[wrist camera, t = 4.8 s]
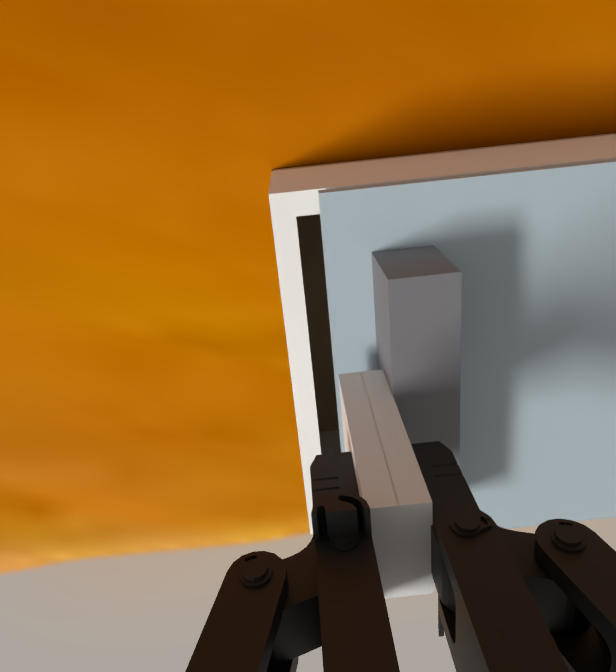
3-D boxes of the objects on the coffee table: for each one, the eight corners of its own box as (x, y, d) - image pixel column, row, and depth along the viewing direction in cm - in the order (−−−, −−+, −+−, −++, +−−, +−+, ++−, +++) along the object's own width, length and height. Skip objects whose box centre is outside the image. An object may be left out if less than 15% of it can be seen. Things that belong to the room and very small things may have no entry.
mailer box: (728, 121, 24) (889, 128, 18) (675, 400, 30) (785, 482, 23) (272, 169, 24) (268, 194, 18) (304, 440, 30) (310, 533, 23)
